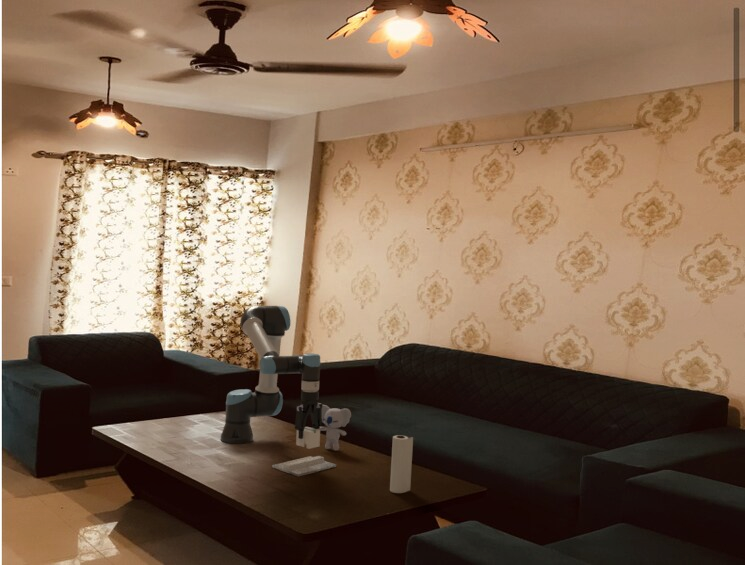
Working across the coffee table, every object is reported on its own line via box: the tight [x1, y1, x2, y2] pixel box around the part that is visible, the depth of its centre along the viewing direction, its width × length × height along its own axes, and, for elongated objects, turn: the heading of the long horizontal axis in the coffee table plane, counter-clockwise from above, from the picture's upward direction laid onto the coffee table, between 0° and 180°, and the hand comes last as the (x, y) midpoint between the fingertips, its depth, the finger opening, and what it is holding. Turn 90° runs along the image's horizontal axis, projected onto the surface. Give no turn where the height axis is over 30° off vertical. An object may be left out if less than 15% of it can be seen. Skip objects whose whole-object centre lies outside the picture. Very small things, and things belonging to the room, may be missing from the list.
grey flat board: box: [271, 455, 337, 477], centre depth 305 cm, size 16×22×3 cm
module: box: [295, 426, 321, 450], centre depth 306 cm, size 8×6×7 cm
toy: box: [318, 404, 352, 452], centre depth 335 cm, size 17×10×20 cm, turn 62°
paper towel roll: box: [389, 434, 414, 494], centre depth 280 cm, size 7×6×21 cm
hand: (307, 444), depth 306 cm, fingers closed on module, 6 cm apart
